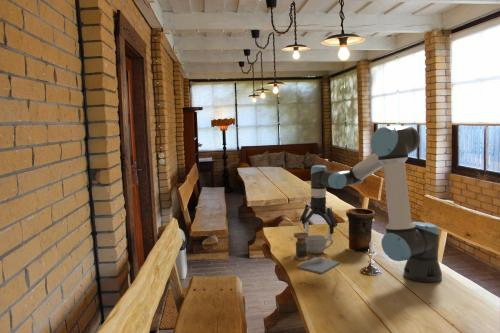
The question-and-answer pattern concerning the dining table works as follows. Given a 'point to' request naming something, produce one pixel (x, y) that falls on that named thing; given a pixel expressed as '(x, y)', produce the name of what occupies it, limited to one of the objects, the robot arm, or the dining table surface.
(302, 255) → the brown rounded upright piece
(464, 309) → the dining table surface
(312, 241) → the teacup
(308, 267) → the pad
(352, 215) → the vessel
